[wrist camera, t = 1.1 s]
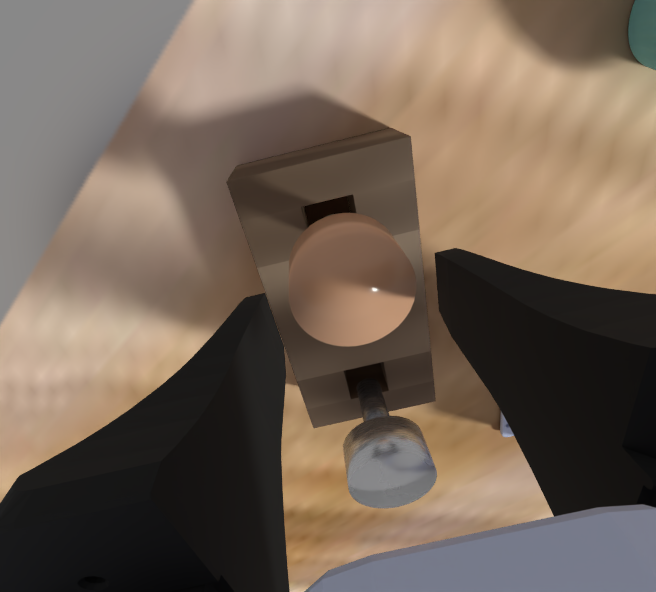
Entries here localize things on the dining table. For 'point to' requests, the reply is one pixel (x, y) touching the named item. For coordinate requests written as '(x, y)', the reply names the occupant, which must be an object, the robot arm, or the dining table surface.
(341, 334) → the terracotta plunger
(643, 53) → the cupcake
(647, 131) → the dining table surface
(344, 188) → the brown piece
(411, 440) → the grey plunger
